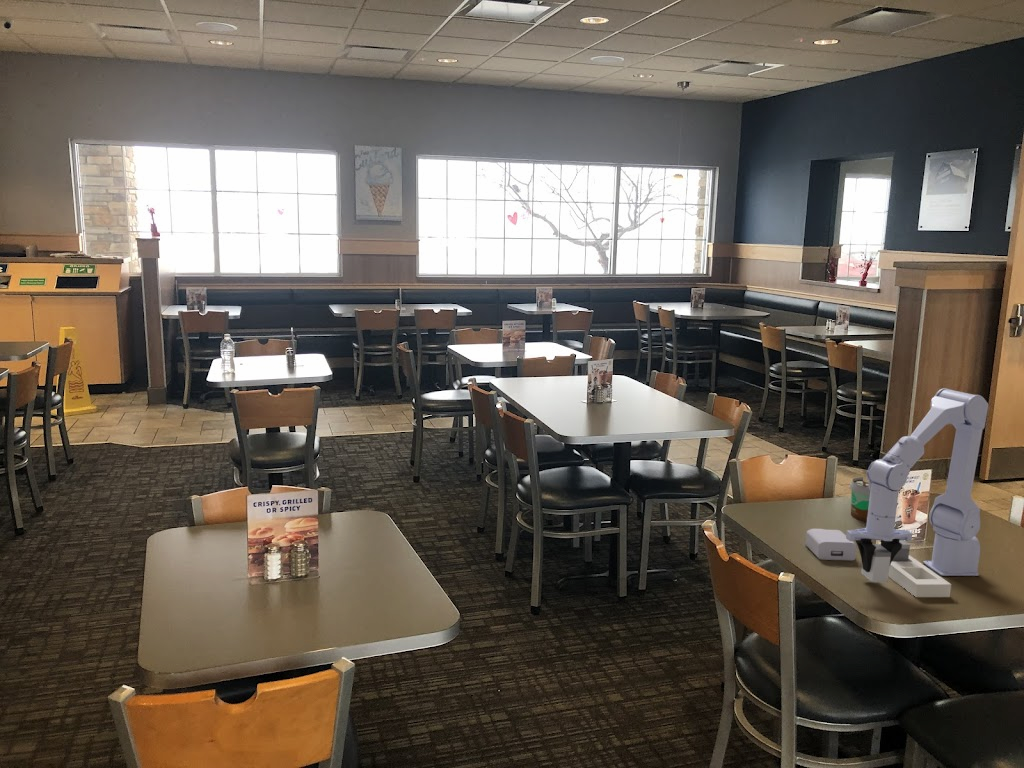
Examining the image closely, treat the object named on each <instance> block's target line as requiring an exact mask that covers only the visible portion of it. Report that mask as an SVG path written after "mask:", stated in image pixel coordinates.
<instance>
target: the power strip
mask: <svg viewBox="0 0 1024 768" xmlns="http://www.w3.org/2000/svg"><path fill="white" fill-rule="evenodd" d="M879 544H880V545H881V543H879ZM888 578H890V579H891V580H893V581H894V582H895V583H896V584H898V585H899V586H900V587H901V586H902V587H901V588H903V589H904V588H905V589H906V591H907V592H908V593H909V592H910V593H911V594H910V593H909V594H910V595H911V596H913V595H914V596H915V597H914V596H913V597H914V598H950V596H951V591H952V584H951V583H950V582H948V581H947V580H946V579H944V578H943V577H942V576H941V575H940V574H938V573H937V572H935V571H934V570H932V569H931V568H930V567H928V566H927V565H925V564H924V563H922V562H920V561H919V560H918V559H916V558H914V557H913V556H912V555H910V554H909V557H908V562H891V564H890V566H889V573H888ZM905 589H904V590H905Z"/></svg>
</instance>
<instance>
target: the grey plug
mask: <svg viewBox="0 0 1024 768" xmlns="http://www.w3.org/2000/svg"><path fill="white" fill-rule="evenodd" d="M872 544H873V545H874V546H876V549H875V551H874V554H873V557H872V563H871V569H870V572H866V571H865V570H864V569H863V567H862V566H861V571H860V573H861V574H862V575H863V576H864V577H866V578H867V579H868V580H869V581H870V582H872V583H888V579H889V576H888V573H889V565H890V557H891V552H889V551H888V550H887V549H885V548H884V547H883V546H881V545H880V544H881V543H877V544H876V543H875V544H874V543H872Z"/></svg>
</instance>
